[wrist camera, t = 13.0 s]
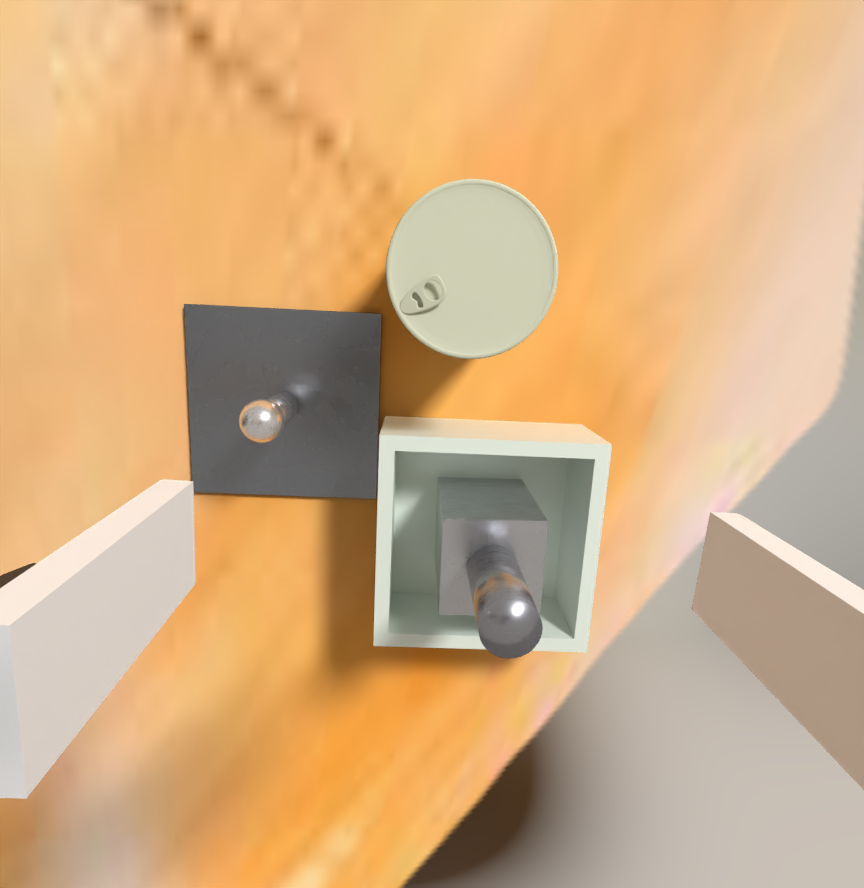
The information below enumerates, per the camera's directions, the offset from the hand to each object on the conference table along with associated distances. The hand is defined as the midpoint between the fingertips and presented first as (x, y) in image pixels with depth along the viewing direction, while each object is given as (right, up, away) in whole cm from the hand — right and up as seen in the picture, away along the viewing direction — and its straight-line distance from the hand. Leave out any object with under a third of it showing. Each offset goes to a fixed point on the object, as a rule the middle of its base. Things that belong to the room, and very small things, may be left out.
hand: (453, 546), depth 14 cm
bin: (+3, -3, +31) cm, 31 cm away
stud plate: (-12, +6, +28) cm, 31 cm away
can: (+1, +14, +27) cm, 30 cm away
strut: (+3, -3, +30) cm, 30 cm away
